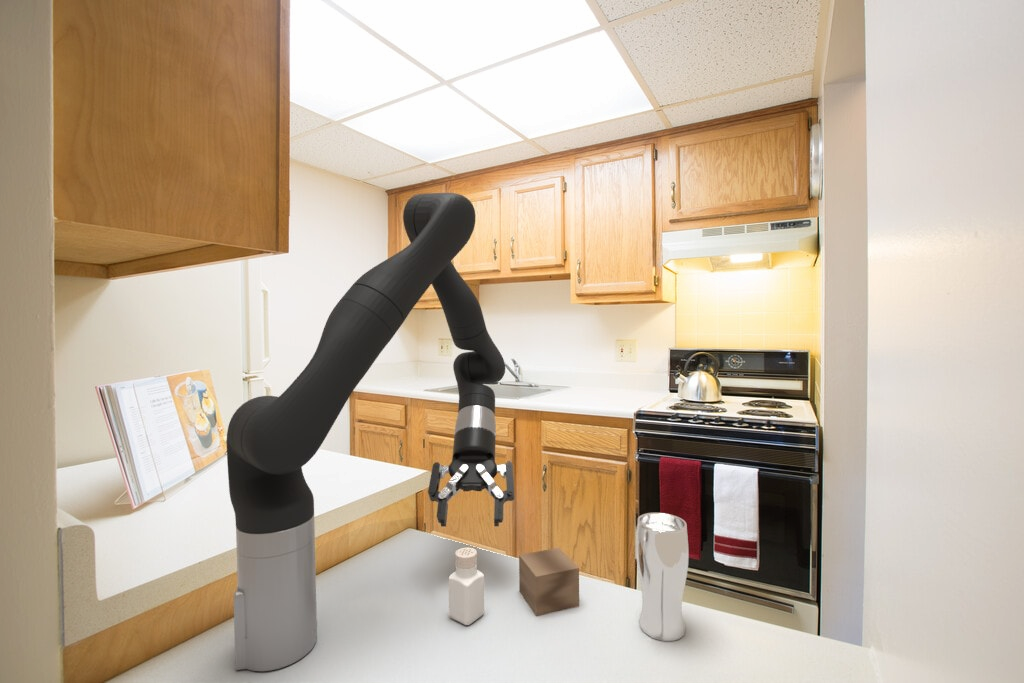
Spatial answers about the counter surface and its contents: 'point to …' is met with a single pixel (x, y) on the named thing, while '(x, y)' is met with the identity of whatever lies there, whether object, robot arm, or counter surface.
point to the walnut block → (548, 581)
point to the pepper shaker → (466, 588)
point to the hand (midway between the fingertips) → (469, 524)
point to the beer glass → (662, 574)
